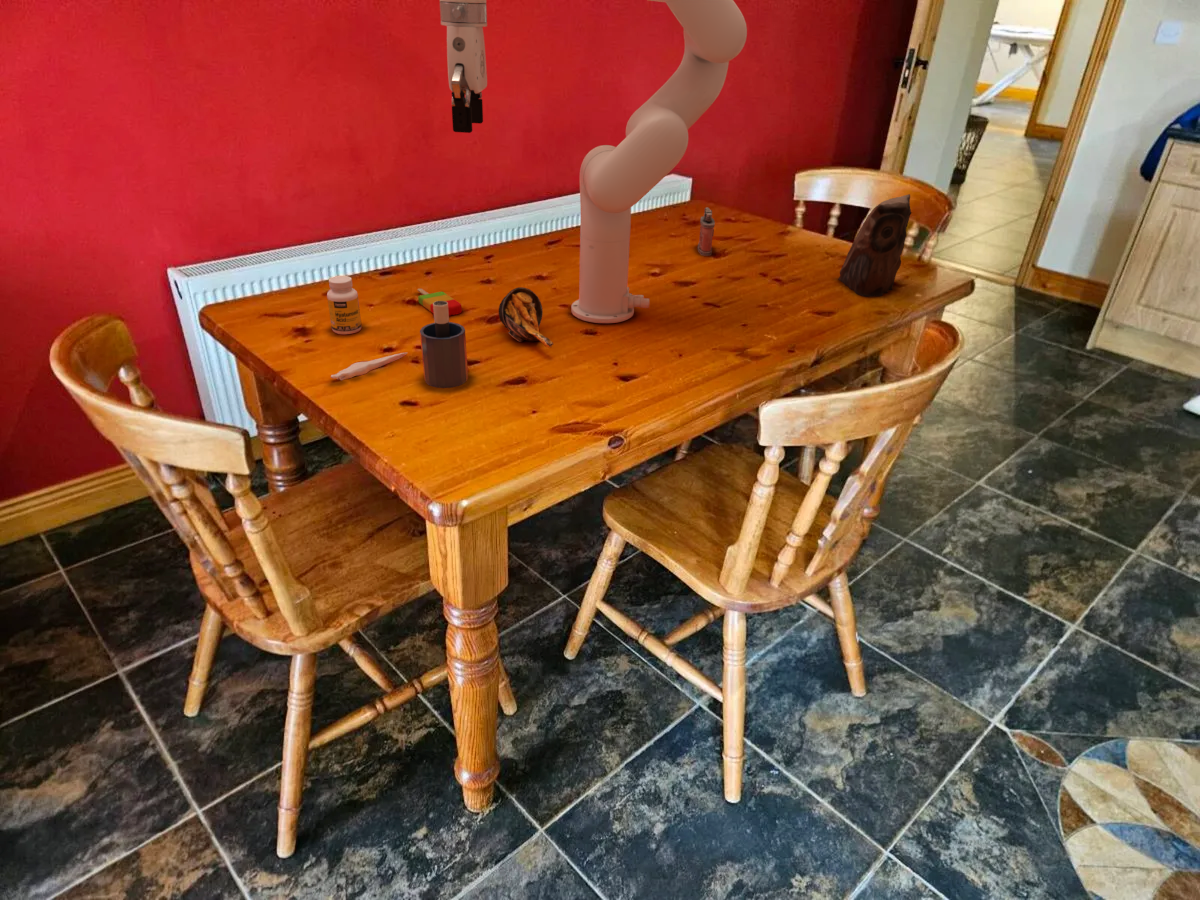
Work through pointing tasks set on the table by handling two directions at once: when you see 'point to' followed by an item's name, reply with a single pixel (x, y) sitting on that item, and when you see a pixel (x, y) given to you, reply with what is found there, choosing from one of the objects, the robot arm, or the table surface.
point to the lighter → (706, 233)
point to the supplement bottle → (343, 306)
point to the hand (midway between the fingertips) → (468, 127)
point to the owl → (877, 249)
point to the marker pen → (441, 319)
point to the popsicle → (429, 299)
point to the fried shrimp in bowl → (523, 315)
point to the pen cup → (444, 356)
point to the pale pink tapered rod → (365, 366)
